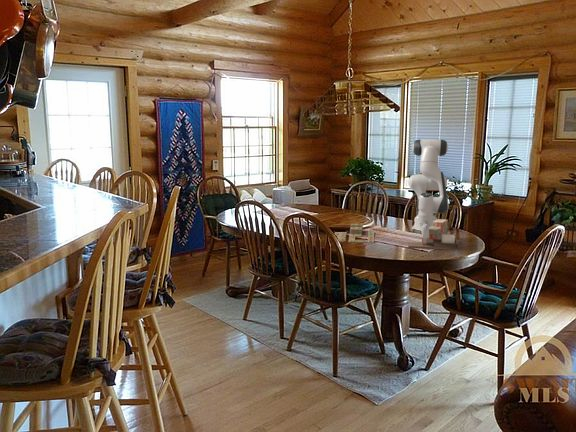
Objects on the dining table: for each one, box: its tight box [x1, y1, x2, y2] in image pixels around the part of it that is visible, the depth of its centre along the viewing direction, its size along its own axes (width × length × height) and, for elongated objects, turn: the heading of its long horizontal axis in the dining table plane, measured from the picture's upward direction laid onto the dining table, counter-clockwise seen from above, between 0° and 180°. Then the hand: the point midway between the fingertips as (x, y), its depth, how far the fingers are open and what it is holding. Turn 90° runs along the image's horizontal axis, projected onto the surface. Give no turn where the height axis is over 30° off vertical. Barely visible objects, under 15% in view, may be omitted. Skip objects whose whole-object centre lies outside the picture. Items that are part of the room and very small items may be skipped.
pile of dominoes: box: [334, 223, 375, 244], centre depth 333 cm, size 35×27×6 cm
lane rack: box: [407, 237, 459, 251], centre depth 303 cm, size 12×28×5 cm, turn 78°
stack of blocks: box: [427, 218, 449, 242], centre depth 318 cm, size 21×6×12 cm, turn 145°
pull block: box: [421, 234, 456, 245], centre depth 302 cm, size 6×19×6 cm, turn 78°
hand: (424, 242), depth 304 cm, fingers closed on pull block, 2 cm apart
